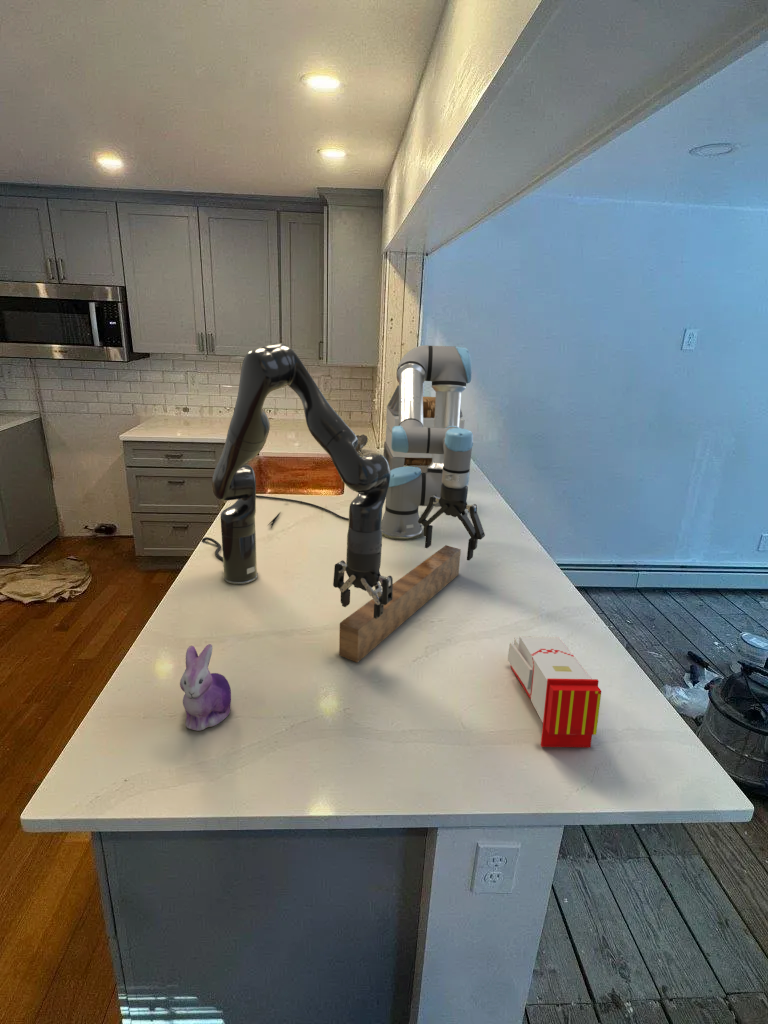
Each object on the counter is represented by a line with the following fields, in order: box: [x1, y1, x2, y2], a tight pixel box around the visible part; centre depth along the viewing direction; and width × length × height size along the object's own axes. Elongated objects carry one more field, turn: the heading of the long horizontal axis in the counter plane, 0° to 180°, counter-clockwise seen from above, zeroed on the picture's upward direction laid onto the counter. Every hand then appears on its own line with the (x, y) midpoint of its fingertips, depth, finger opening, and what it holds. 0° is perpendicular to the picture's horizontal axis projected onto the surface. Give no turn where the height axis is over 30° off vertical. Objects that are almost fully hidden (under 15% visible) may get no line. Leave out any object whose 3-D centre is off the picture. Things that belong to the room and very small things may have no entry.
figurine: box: [179, 643, 232, 732], centre depth 106 cm, size 9×10×15 cm
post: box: [338, 544, 462, 663], centre depth 149 cm, size 55×5×8 cm, turn 149°
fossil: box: [355, 434, 369, 455], centre depth 304 cm, size 22×10×15 cm
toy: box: [507, 635, 602, 748], centre depth 115 cm, size 12×13×30 cm
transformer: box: [383, 384, 465, 471], centre depth 268 cm, size 34×33×41 cm
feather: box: [266, 512, 281, 529], centre depth 211 cm, size 2×28×2 cm
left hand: (361, 611), depth 128 cm, fingers open, 8 cm apart
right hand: (448, 552), depth 167 cm, fingers open, 13 cm apart
